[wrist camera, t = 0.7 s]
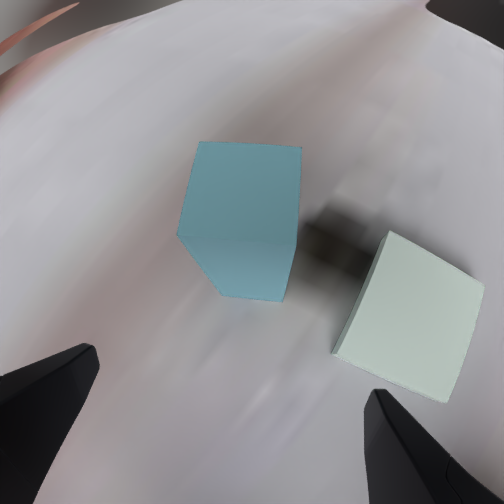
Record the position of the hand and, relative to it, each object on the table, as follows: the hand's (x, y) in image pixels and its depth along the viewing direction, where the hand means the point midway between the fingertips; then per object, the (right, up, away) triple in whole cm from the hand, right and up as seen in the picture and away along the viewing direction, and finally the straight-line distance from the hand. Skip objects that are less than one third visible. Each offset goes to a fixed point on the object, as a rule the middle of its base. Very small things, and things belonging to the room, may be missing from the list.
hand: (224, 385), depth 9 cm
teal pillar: (+1, +3, +15) cm, 15 cm away
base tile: (+13, -1, +13) cm, 18 cm away
